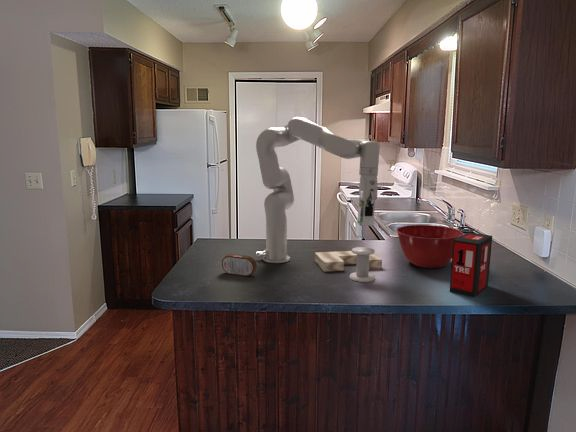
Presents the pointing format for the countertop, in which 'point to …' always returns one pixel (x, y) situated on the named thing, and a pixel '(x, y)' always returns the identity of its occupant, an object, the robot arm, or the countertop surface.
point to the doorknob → (362, 265)
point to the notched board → (343, 260)
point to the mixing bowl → (428, 244)
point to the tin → (239, 265)
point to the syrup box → (362, 218)
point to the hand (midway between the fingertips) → (365, 214)
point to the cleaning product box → (470, 264)
